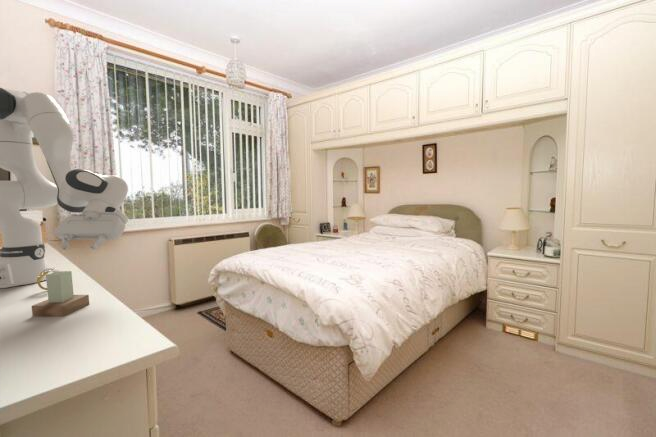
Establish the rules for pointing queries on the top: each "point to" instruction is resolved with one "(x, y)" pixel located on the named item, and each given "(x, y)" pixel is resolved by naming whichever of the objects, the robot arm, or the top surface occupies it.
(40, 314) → the plinth
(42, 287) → the ring
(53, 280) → the block
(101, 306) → the top surface
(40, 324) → the top surface
